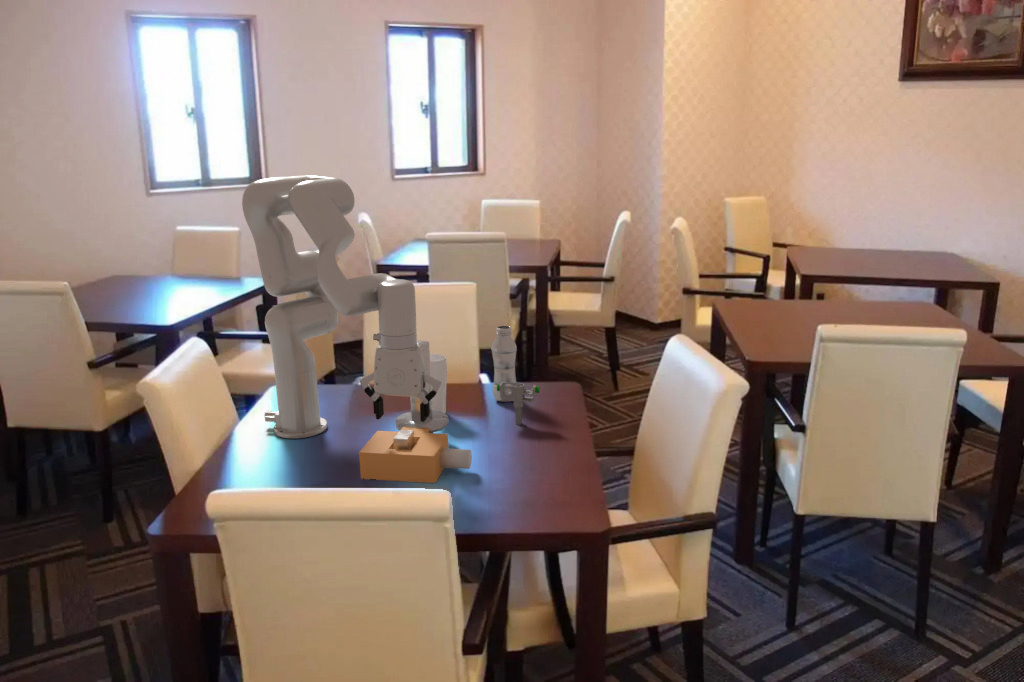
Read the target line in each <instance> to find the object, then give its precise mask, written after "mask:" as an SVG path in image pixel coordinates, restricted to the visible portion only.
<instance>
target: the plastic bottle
mask: <svg viewBox="0 0 1024 682" xmlns="http://www.w3.org/2000/svg"><path fill="white" fill-rule="evenodd" d="M495 335H496V337H495V339H494V340H493V342H492V343H491V347H490V348H491V349H490V350H491V354H492V359H493V367H494V368H493V370H494V372H493V373H494V374H493V384H492V385H493V386H492V395H493V397H494V399H495V400H496V401H497V402H503V403H508V402H510V401H504V400H502V399H501V397H500V391H497V385H500V384H501V383H502V382H506V383H517V377H516V356H517V344H516V342H515V340H514V339H513V337H512V336H511V335H512V327H511V326H510V325H499V326H496V334H495ZM507 392H509V393H511V390H509V389H507Z"/></svg>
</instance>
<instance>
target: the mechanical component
mask: <svg viewBox="0 0 1024 682" xmlns="http://www.w3.org/2000/svg"><path fill="white" fill-rule="evenodd" d="M507 389H509V390H511V393H509V392H507ZM540 390H541V388H540V386H539V385H535V384H533V385H532V388H531V389H527V388H526V387H525V384H524V383H522V382H516V383H506V382H502V383H501V384H500V385H497V391H500V397H501V399H502V400H504V401H509V402H513V404H512V406H513V407H514V408H515V424H516V425H517V426H518V425H519V426H520V425H522V423H523V407H524V406H525V405H524V403H532V402H534V401H535V399H536V397H537V395H538V394H539V393H540ZM525 395H526V396H525Z"/></svg>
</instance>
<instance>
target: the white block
mask: <svg viewBox="0 0 1024 682" xmlns="http://www.w3.org/2000/svg"><path fill="white" fill-rule="evenodd" d="M397 432H398V434H397V435H396V436H395V437H394V439H393V441H394V449H402V450H412V449H413V447H414V446H415V440H414V430H398V431H397Z"/></svg>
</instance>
